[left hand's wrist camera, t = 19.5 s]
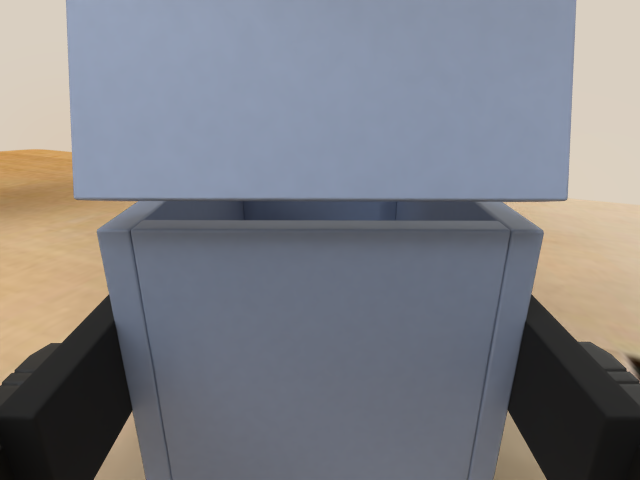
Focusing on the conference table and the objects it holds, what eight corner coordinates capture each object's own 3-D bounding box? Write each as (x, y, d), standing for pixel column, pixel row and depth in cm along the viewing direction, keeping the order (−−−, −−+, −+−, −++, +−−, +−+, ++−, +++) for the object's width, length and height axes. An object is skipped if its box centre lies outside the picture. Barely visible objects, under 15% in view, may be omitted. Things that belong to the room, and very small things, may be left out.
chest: (239, 298, 26) (227, 139, 23) (400, 299, 26) (412, 139, 23) (155, 531, 13) (95, 229, 9) (483, 532, 13) (546, 230, 9)
